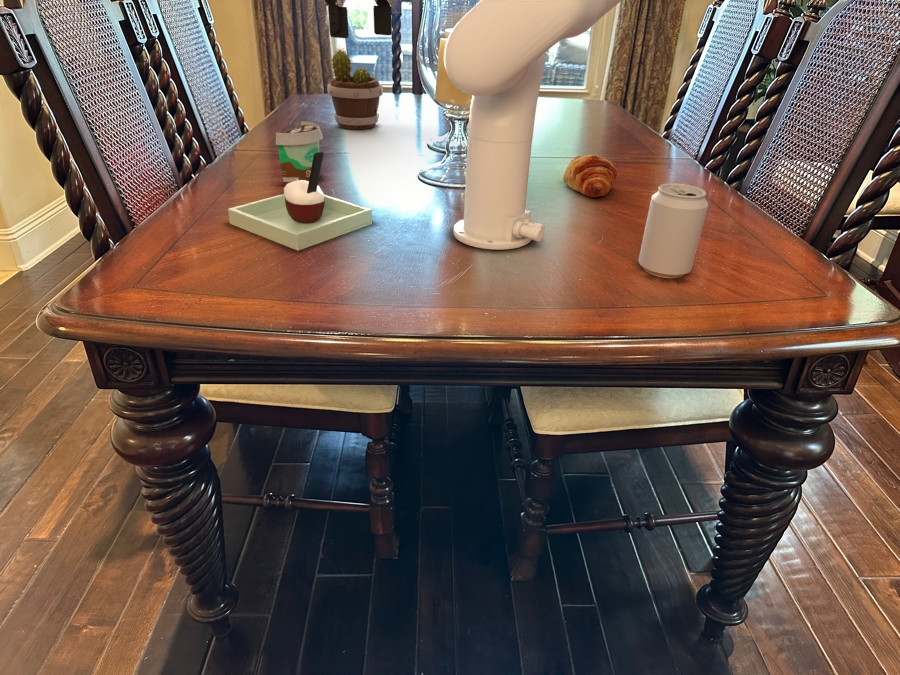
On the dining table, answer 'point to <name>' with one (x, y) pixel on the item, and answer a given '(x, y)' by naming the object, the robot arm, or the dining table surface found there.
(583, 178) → the croissant
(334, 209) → the tray
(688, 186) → the can
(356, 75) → the flowerpot
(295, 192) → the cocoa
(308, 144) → the food container
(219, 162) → the dining table surface
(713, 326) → the dining table surface
